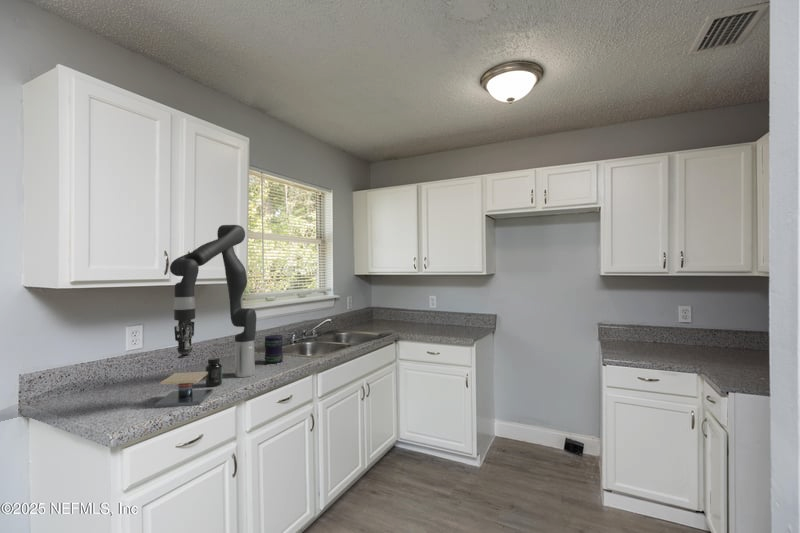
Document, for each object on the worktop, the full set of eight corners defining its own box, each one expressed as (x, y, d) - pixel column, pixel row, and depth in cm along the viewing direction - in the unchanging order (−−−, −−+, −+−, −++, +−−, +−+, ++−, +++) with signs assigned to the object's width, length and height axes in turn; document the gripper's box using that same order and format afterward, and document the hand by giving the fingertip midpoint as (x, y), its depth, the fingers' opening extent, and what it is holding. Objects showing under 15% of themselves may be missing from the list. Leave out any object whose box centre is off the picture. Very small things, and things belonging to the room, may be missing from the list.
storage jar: (263, 361, 218) (263, 335, 218) (281, 360, 222) (281, 334, 222) (265, 365, 209) (265, 338, 209) (284, 363, 213) (284, 337, 213)
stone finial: (196, 354, 158) (195, 326, 158) (188, 358, 152) (188, 328, 152) (181, 355, 158) (181, 326, 158) (173, 358, 152) (173, 328, 152)
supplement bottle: (225, 382, 177) (225, 357, 177) (216, 387, 170) (216, 360, 170) (211, 382, 178) (211, 356, 178) (202, 387, 171) (202, 360, 171)
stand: (172, 394, 161) (172, 372, 161) (212, 391, 163) (212, 370, 164) (154, 407, 145) (154, 383, 145) (199, 404, 148) (199, 381, 148)
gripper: (187, 309, 148) (187, 352, 148) (201, 305, 163) (201, 345, 162) (166, 309, 147) (166, 353, 147) (182, 306, 161) (182, 346, 161)
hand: (185, 349), depth 155 cm, fingers closed on stone finial, 6 cm apart
